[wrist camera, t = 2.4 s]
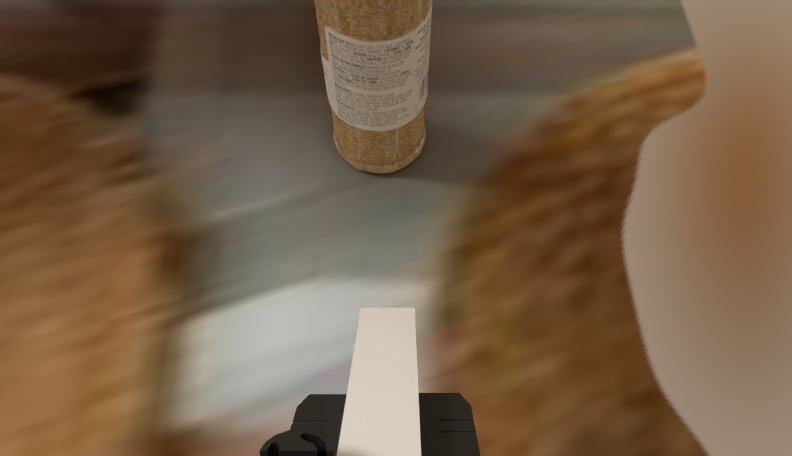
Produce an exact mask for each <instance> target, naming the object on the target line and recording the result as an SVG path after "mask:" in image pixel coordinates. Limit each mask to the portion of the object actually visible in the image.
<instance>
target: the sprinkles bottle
mask: <svg viewBox="0 0 792 456" xmlns="http://www.w3.org/2000/svg"><path fill="white" fill-rule="evenodd" d="M314 3H315V6H316V18H317V22H318V28H319V36H320V42H321V58H322V64H323V71H324V77H325V83H326V90H327V96H328V100H329V103H330V106H331V110H332V117H333V124H334V131H333V140H334V144H335V146H336V149H337V151H338V153H339V154H340V155H341V156H342V157H343V159H344V160H345V161H347V162H348V163H349V164H350V165H352V166H353V167H355V168H356V169H358V170H362V171H367V172H371V173H388V172H395V171H397V170H399V169H402V168H404V167H405V166H407V165H408V164H410V163H411V162H413V160H414V159H416V158H417V157H418V155H419V154H420V153H421V151H422V148H423V146H424V144H425V138H426V128H425V123H424V113H425V111H424V109H425V102H426V99H427V91H428V73H429V54H430V35H431V17H432V0H314Z"/></svg>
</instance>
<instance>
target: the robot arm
mask: <svg viewBox="0 0 792 456" xmlns="http://www.w3.org/2000/svg"><path fill="white" fill-rule="evenodd" d="M260 456H480V452H479V447H478V441H477V436H476V431H475V426H474V422H473V415H472V410H471V405H470V404H469V403H468V402H467V401H466V400H465V399H464V398H463V396H462V395H461V394H460V393H418V372H417V350H416V327H415V308H361V311H360V317H359V323H358V329H357V335H356V341H355V347H354V353H353V359H352V365H351V371H350V378H349V384H348V390H347V394H310V395H309V396H308V397H307V398H305V399H304V400H303V401H302V402H301V403H300V404H299V405H298V406H297V409H296V412H295V416H294V419H293V423H292V426H291V429H290V430H289V431H286V432H283V433H280V434H277V435H275V436H274V437H272V438H271V439H269V440H268V441H266V442H265V444H264V445H263V447H262V448H261V450H260Z"/></svg>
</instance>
